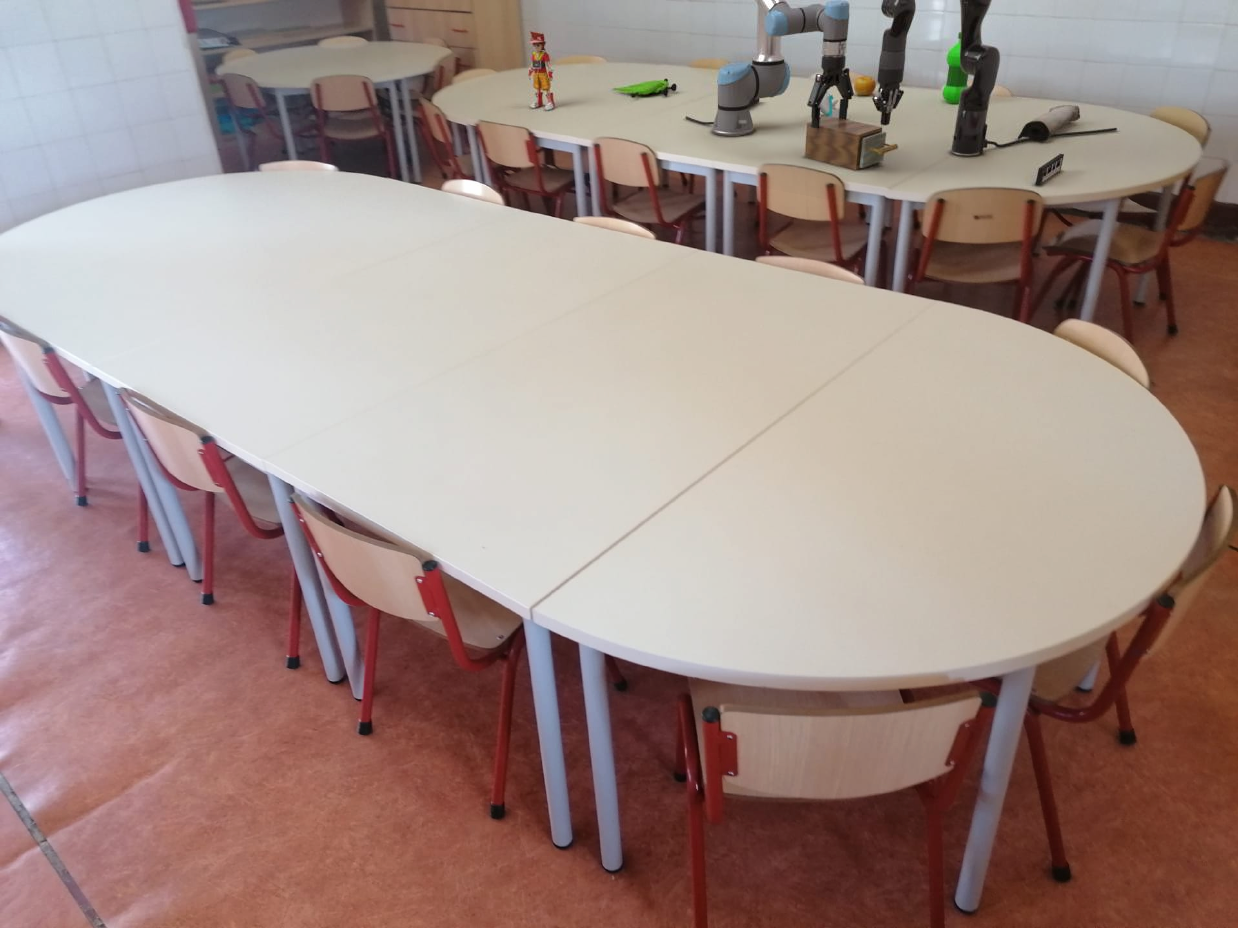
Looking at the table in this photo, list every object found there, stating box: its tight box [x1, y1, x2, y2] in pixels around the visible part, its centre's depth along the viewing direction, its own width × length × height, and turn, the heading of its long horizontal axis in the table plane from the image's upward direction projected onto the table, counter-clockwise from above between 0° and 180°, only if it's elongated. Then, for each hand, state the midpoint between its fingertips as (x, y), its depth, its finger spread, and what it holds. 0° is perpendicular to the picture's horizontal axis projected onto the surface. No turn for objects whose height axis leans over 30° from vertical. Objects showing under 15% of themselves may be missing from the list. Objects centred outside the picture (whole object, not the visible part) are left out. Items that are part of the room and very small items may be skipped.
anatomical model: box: [819, 91, 851, 120], centre depth 342 cm, size 15×10×10 cm
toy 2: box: [612, 78, 677, 99], centre depth 396 cm, size 28×5×30 cm
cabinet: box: [804, 116, 883, 171], centre depth 298 cm, size 22×12×11 cm, turn 38°
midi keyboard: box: [1035, 153, 1065, 186], centre depth 273 cm, size 18×1×5 cm, turn 138°
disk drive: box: [749, 98, 761, 108], centre depth 367 cm, size 10×3×15 cm
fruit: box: [853, 75, 877, 96], centre depth 370 cm, size 8×9×8 cm
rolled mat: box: [1017, 104, 1081, 143], centre depth 313 cm, size 30×9×10 cm
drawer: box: [858, 131, 899, 169], centre depth 294 cm, size 26×10×9 cm, turn 38°
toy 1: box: [527, 31, 556, 111], centre depth 374 cm, size 12×9×30 cm
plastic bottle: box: [942, 31, 969, 104], centre depth 348 cm, size 10×10×25 cm
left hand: (829, 124), depth 299 cm, fingers open, 13 cm apart
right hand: (884, 124), depth 282 cm, fingers closed
